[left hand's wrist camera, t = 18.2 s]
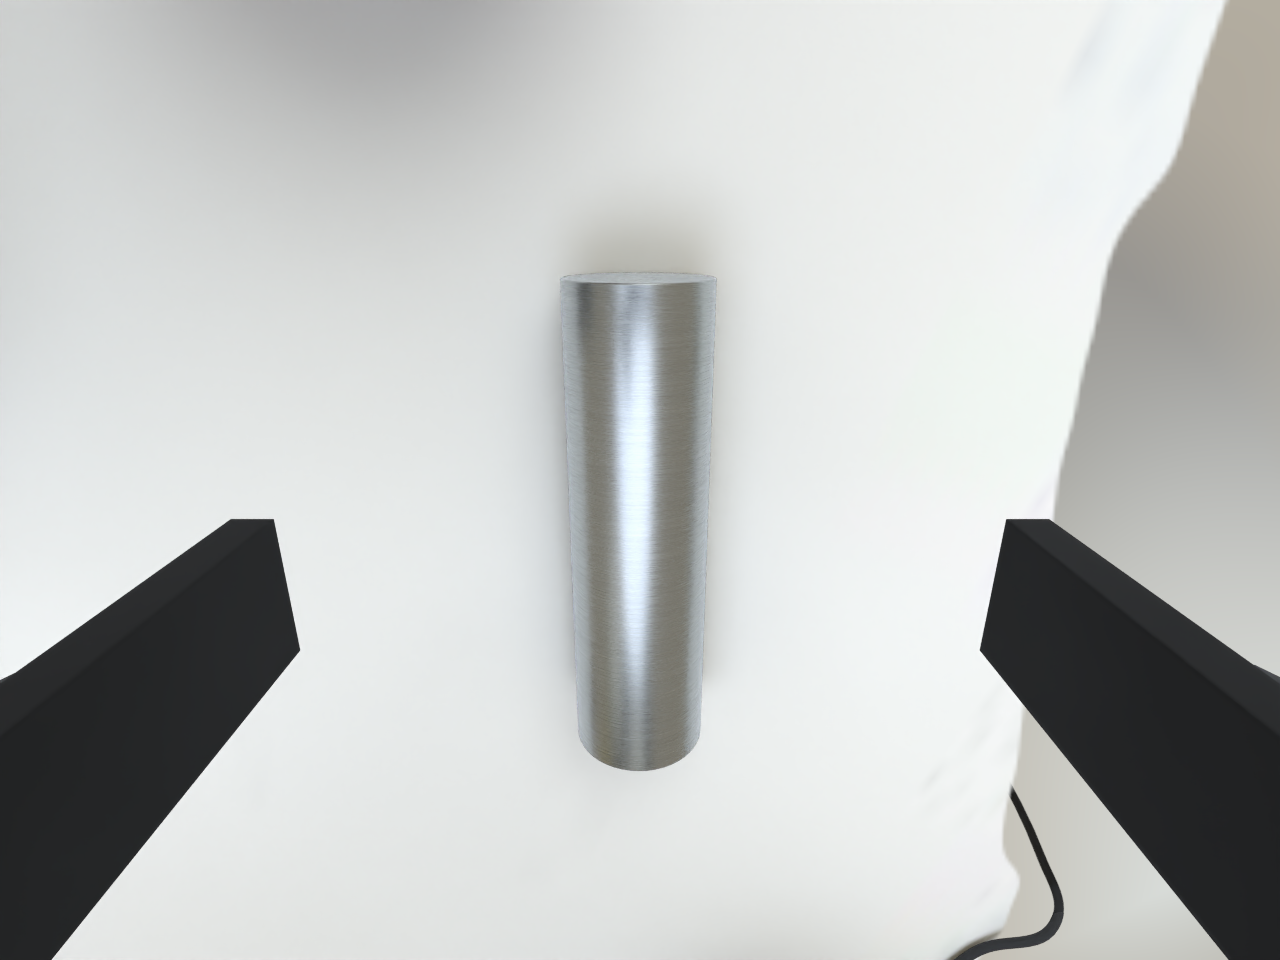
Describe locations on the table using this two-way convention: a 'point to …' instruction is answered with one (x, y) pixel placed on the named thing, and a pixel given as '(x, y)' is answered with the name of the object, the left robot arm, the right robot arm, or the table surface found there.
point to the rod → (638, 507)
